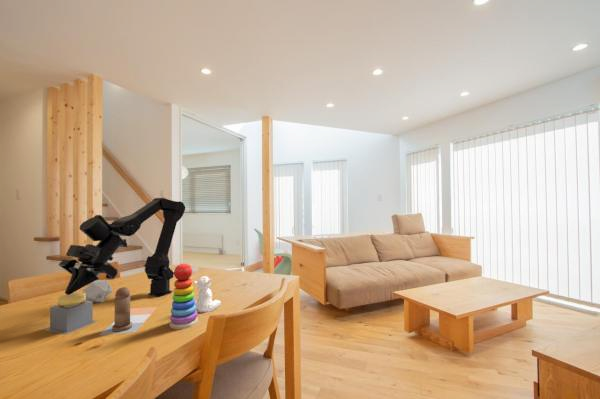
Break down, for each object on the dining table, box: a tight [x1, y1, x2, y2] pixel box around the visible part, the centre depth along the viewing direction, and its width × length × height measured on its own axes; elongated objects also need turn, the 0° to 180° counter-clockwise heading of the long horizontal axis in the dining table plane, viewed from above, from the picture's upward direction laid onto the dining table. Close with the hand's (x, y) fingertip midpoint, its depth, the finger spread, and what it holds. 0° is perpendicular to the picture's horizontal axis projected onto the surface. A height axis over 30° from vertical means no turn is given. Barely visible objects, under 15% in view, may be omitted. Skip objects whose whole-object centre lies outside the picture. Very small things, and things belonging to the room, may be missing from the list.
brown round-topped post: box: [112, 286, 132, 332], centre depth 79 cm, size 5×5×12 cm
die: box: [82, 279, 114, 304], centre depth 104 cm, size 8×9×10 cm
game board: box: [98, 306, 158, 336], centre depth 85 cm, size 20×9×1 cm, turn 10°
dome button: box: [57, 292, 87, 308], centre depth 81 cm, size 6×6×7 cm
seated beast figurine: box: [193, 275, 222, 313], centre depth 95 cm, size 10×9×12 cm
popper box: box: [44, 300, 99, 335], centre depth 81 cm, size 9×9×7 cm
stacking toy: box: [168, 263, 199, 330], centre depth 83 cm, size 8×8×19 cm
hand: (66, 293), depth 80 cm, fingers closed
